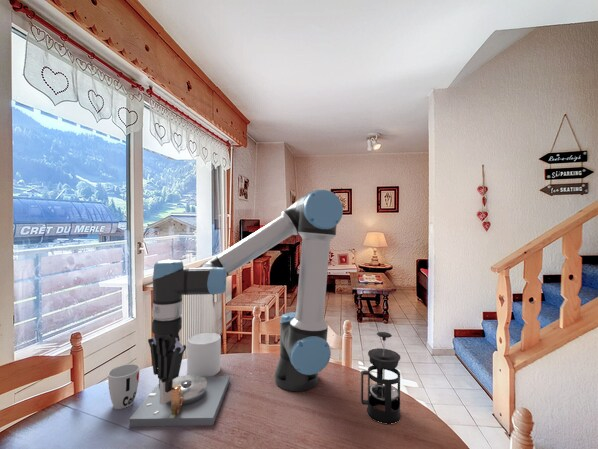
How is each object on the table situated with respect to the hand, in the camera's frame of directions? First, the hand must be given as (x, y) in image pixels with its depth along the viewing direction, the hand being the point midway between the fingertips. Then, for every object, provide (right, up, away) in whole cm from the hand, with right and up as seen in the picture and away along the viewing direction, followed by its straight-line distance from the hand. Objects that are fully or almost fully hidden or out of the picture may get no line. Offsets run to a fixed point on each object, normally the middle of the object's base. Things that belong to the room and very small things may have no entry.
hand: (165, 401), depth 80 cm
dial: (+3, -2, +6) cm, 7 cm away
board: (+3, -5, +8) cm, 10 cm away
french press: (+61, -6, +3) cm, 61 cm away
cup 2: (+2, -5, +27) cm, 28 cm away
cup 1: (-15, -5, +6) cm, 17 cm away
